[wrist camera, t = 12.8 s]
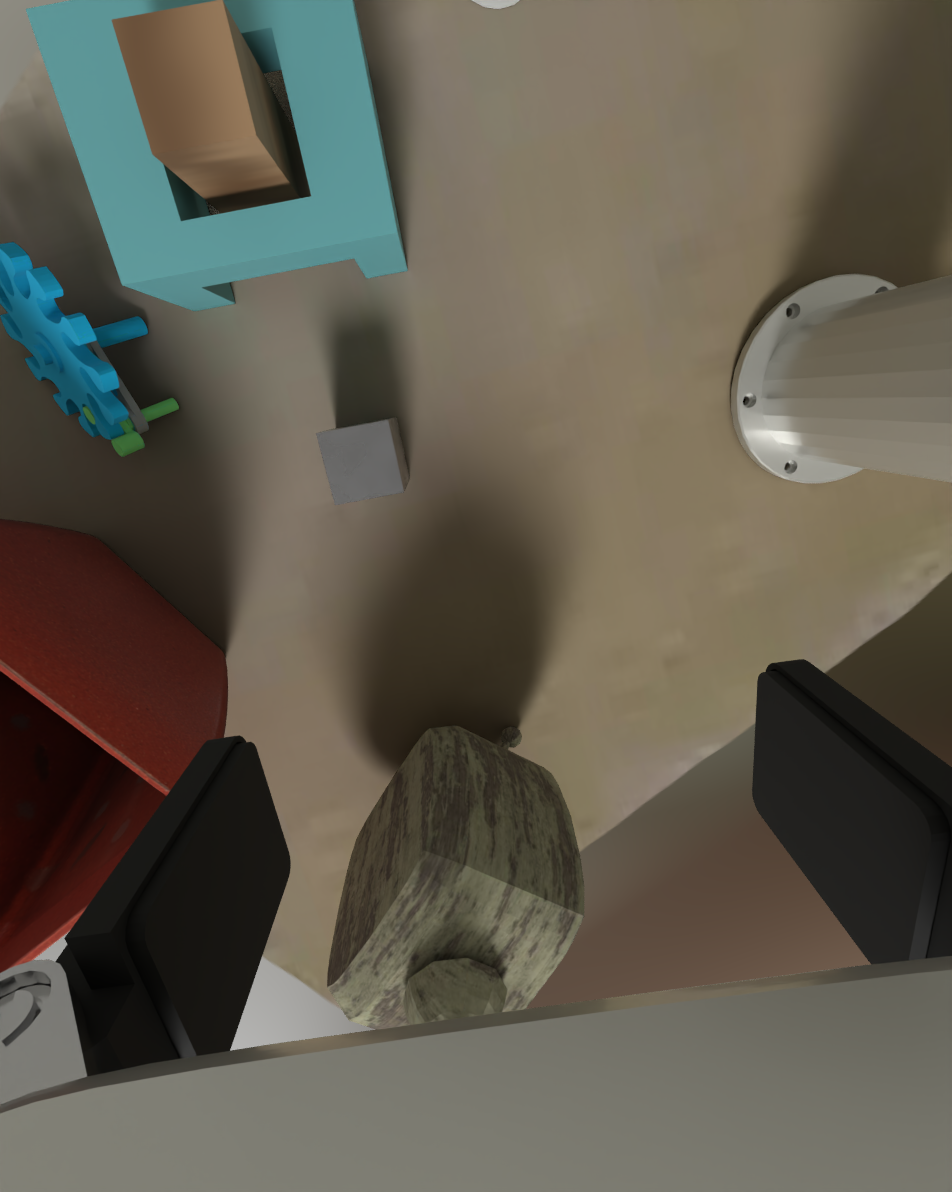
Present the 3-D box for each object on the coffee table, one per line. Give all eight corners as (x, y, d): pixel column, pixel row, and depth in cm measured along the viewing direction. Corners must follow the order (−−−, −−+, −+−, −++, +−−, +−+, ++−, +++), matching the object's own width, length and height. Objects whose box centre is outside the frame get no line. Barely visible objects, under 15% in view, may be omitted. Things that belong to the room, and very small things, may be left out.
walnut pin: (302, 146, 31) (222, -1, 20) (321, 228, 32) (256, 135, 21) (232, 158, 31) (111, 19, 20) (253, 241, 32) (152, 154, 21)
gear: (-44, 283, 31) (-19, 212, 24) (65, 261, 34) (113, 193, 28) (87, 469, 36) (138, 453, 29) (170, 433, 39) (233, 411, 33)
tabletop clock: (449, 849, 48) (456, 1283, 24) (355, 808, 46) (262, 1238, 22) (541, 721, 44) (654, 1088, 21) (442, 671, 42) (442, 1013, 19)
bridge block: (367, 61, 30) (342, -53, 22) (407, 270, 33) (397, 232, 26) (130, 107, 30) (25, 9, 22) (194, 311, 33) (122, 285, 26)
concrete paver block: (396, 416, 36) (388, 419, 30) (409, 478, 37) (403, 492, 32) (335, 428, 36) (316, 433, 30) (351, 489, 37) (335, 505, 32)
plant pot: (298, 663, 41) (208, 827, 25) (125, 803, 45) (-50, 1026, 29) (84, 459, 36) (-202, 506, 20) (-96, 636, 39) (-466, 798, 23)
